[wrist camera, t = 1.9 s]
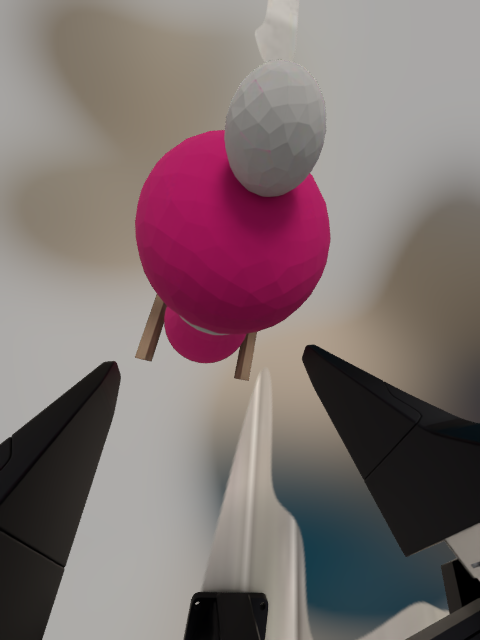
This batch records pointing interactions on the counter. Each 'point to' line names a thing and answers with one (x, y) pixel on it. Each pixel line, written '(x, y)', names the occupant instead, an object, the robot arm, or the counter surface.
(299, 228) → the pepper mill
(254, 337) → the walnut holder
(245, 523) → the counter surface
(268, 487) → the counter surface
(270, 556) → the counter surface
